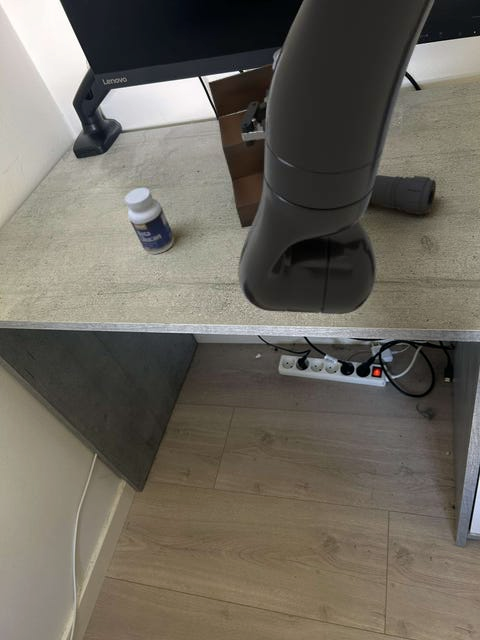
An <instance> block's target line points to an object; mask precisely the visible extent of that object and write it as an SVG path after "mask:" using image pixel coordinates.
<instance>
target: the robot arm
mask: <svg viewBox="0 0 480 640" xmlns="http://www.w3.org/2000/svg"><path fill="white" fill-rule="evenodd" d="M434 3H435V0H303V1H302V3H301V5H300V6H299V7H300V8H299V9H298V12H297V14H296V16H295V18H294V20H293V22H292V24H291V26H290V29H289V31H288V32H287V35H286V37H285V40H284V42H283V44H282V46H281V48H280V49H281V51H280V53H279V56H278V59H277V61H276V64H275V68H274V71H273V74H272V78H271V83H270V87H269V89H268V90H267V91H266V98H264V102H263V103H261V104H259V102H257V101H256V102H252V103H250V104H249V106H248V108H247V110H245V111H246V112H245V115H244V117H243V119H242V121H241V123H240V129H241V134H242V138H243V141H244V145H245V147H251V146H253V145H254V144H255V141H256V140H259V139H265V149H264V180H263V190H262V196H261V200H260V204H259V207H258V210H257V213H256V216H255V218H254V221H253V223H252V225H250V226H249V227H250V228H249V229H248V232H247V233H246V237H245V239H244V242H243V245H242V248H241V251H240V254H239V255H240V256H239V259H238V266H237V268H238V269H237V278H238V283H239V287H240V290H241V292H242V294H243V296H244V297H245V298H246V300H247V301H248V302H249V303H250V304H252V306H254V307H256V308H257V309H260V310H263V311H266V312H281V313H282V312H283V313H286V312H287V313H288V312H289V313H304V314H305V313H306V314H322V315H323V314H324V315H325V314H326V315H327V314H328V315H344V314H345V315H346V314H350V313H353V312H355V311H357V310H358V309H360V308H362V306H363V305H364V304H365V303H366V301H367V300H368V299H369V298H370V296H371V294H372V292H373V290H374V287H375V284H376V279H377V260H376V255H375V250H374V247H373V244H372V241H371V238H370V235H369V234H368V231H367V230H366V228H365V227H364V224H363V223H362V222H361V219H362V218H363V216H364V215H365V213H366V211H367V209H368V207H369V204H370V203H369V201H370V198H371V195H372V191H373V187H374V183H375V179H376V176H378V171H379V167H380V164H381V160H382V156H383V153H384V148H385V146H386V142H387V138H388V133H389V131H390V125H391V122H392V118H393V114H394V112H395V111H394V110H395V107H396V105H397V102H398V97H399V94H400V91H401V88H402V85H403V81H404V79H405V76H406V72H407V70H408V67H409V64H410V61H411V59H412V56H413V54H414V51H415V48H416V46H417V44H418V41H419V38H420V36H421V33H422V30H423V28H424V26H425V23H426V21H427V18H428V16H429V15H430V12H431V10H432V7H433V5H434ZM264 119H266V123H265V124H264V126H263V127H261V126H262V124H263V120H264Z"/></svg>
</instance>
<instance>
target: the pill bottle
mask: <svg viewBox="0 0 480 640" xmlns="http://www.w3.org/2000/svg"><path fill="white" fill-rule="evenodd" d="M124 200H125V203H126V205H127V207H128V212H127V217H128V219H129V222H130V224H131V226H132V227H133V230H134V233H136V236H137V238H138V240H139V242H140V244H141V246H142V248H143V250H144V251H145V252H146V253H148V254H151V255H157V254H161V253H164V252H166V251H168V250H169V249H170V248H171V247H172V246H173V244H174V243H175V236H174V233H173V230H172V229H171V226H170V224H169V222H168V219H167V217H166V215H165V212H164V209H163V207H162V205H161V202H159V201H158V200H157V199H155V198H153V194H152V193H151V191H150V189H149V188H147V187H138V188H134V189H132V190H130V191H129V192H128V193H127V194H126V196H125V198H124Z"/></svg>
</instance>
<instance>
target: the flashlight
mask: <svg viewBox="0 0 480 640" xmlns="http://www.w3.org/2000/svg"><path fill="white" fill-rule="evenodd" d="M436 188H437V182H436V180H434V179H431V177H428V176H419V175H414V176H413V177H411V176H405V177H404V176H398V175H396V176H390V175H383V174H377V175H376V179H375V183H374V187H373V191H372V195H371V198H370V201H369V204H372V205H378V206H384V207H389V208H390V209H392V208H393V209H398V210H401V211H405V213H407V214H414V215H418V216H419V215H423V214H428V213H429V212H430V210H431V208H432V206H433V202H434V199H435V195H436V190H437V189H436Z"/></svg>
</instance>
